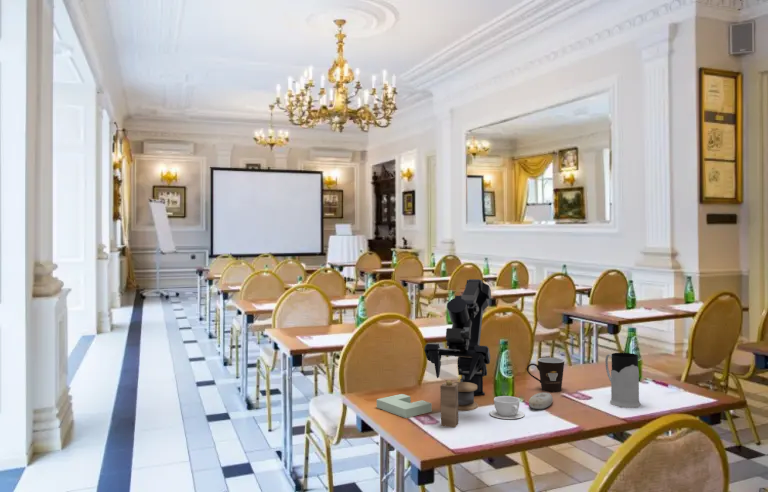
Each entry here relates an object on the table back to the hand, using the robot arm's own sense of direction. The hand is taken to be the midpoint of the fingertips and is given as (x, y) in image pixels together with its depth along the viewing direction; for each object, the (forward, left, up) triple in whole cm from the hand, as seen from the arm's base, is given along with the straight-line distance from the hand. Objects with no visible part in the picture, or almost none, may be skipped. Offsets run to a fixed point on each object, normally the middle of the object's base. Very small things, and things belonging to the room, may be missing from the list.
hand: (453, 378), depth 166 cm
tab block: (+2, +4, -12) cm, 13 cm away
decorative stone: (-30, -8, -12) cm, 34 cm away
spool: (-6, -12, -12) cm, 18 cm away
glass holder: (-55, -6, -12) cm, 57 cm away
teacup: (-16, 0, -12) cm, 20 cm away
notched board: (+12, -12, -12) cm, 21 cm away
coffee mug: (-41, -25, -12) cm, 49 cm away
